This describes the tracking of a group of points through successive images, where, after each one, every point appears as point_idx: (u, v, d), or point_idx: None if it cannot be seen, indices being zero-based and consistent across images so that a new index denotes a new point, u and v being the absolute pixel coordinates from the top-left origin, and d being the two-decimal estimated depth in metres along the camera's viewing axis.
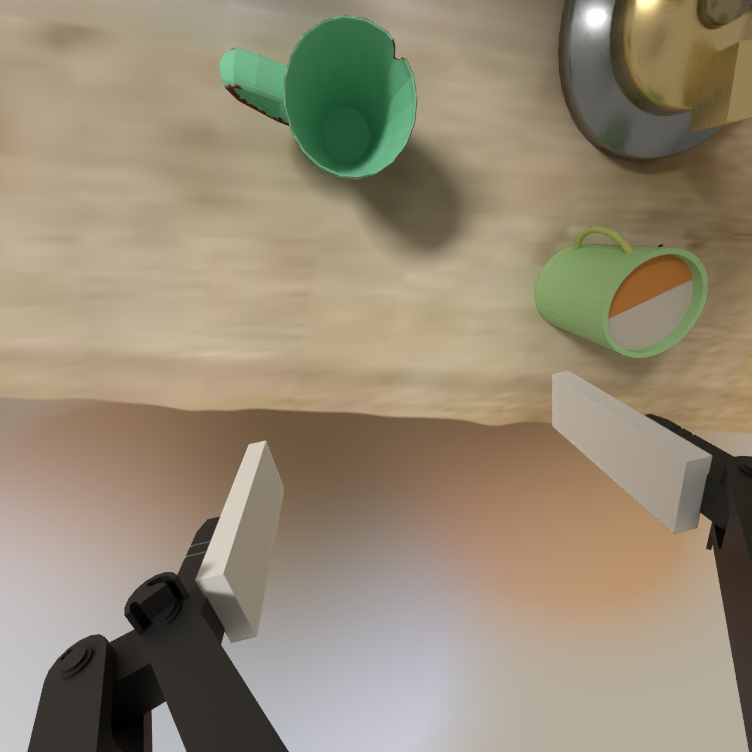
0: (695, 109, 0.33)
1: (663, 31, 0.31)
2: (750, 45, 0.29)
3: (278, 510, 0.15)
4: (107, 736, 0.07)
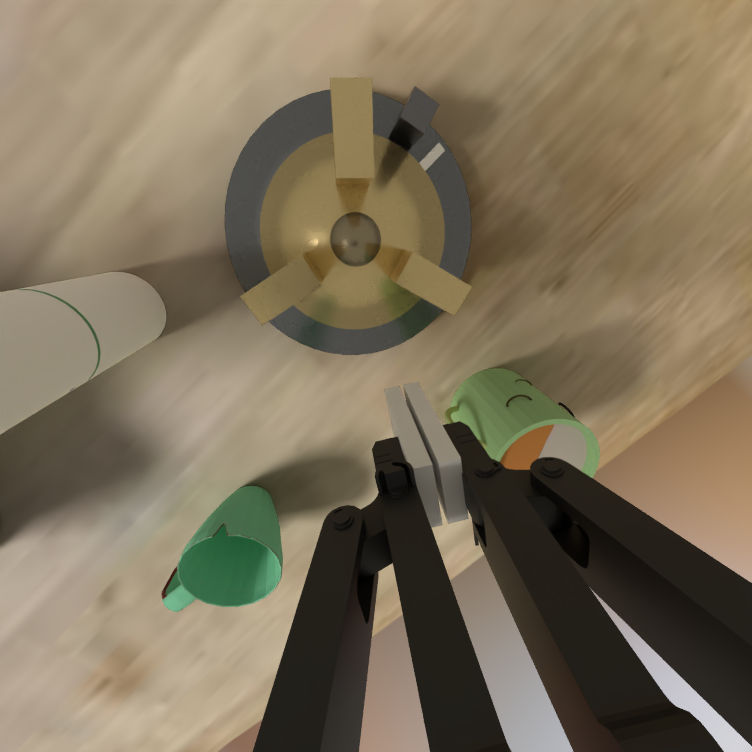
0: None
1: (343, 300, 0.31)
2: (407, 273, 0.27)
3: None
4: (354, 589, 0.09)
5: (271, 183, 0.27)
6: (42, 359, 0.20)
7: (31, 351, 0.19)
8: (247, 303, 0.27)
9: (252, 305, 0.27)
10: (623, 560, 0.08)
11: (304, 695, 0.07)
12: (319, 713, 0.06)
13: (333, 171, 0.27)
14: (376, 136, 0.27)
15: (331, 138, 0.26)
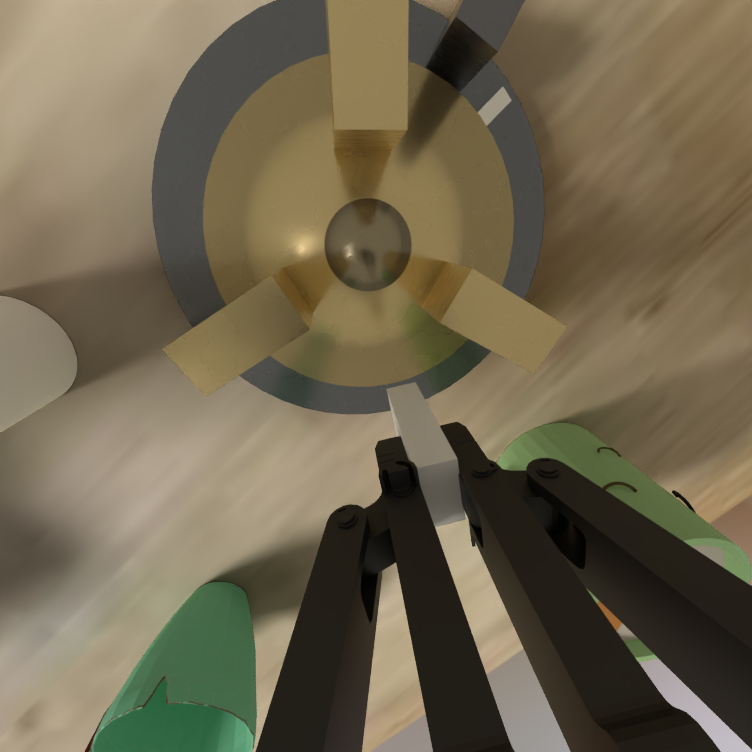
0: None
1: (345, 343, 0.19)
2: (459, 305, 0.15)
3: None
4: (358, 588, 0.09)
5: (220, 147, 0.15)
6: None
7: None
8: (176, 361, 0.15)
9: (185, 364, 0.15)
10: (620, 561, 0.08)
11: (308, 693, 0.07)
12: (322, 712, 0.06)
13: (329, 126, 0.15)
14: None
15: (326, 64, 0.15)
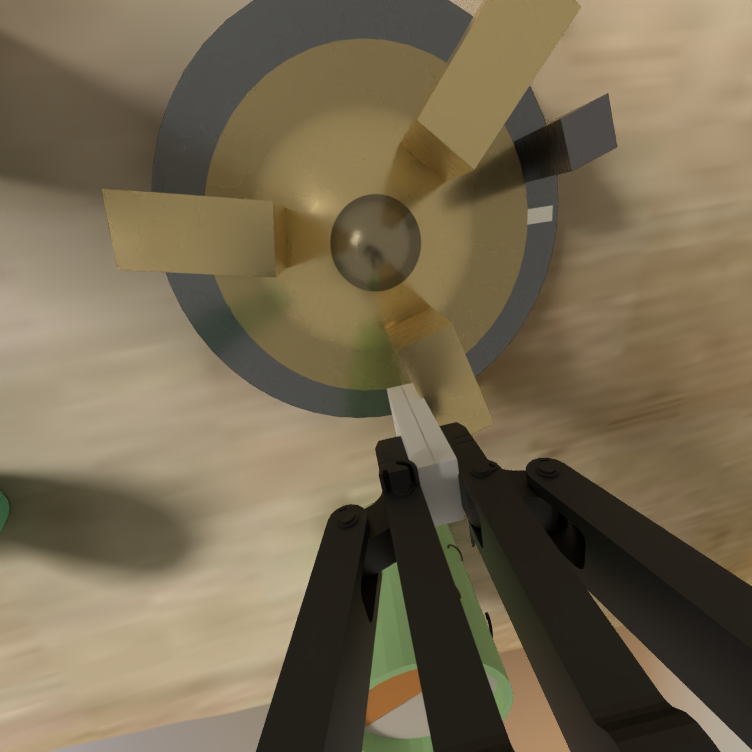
0: None
1: (298, 317, 0.18)
2: (422, 348, 0.15)
3: None
4: (358, 588, 0.09)
5: (300, 56, 0.14)
6: None
7: None
8: (110, 211, 0.12)
9: (118, 222, 0.12)
10: (619, 561, 0.08)
11: (308, 693, 0.07)
12: (323, 712, 0.06)
13: (409, 121, 0.15)
14: None
15: (439, 69, 0.14)
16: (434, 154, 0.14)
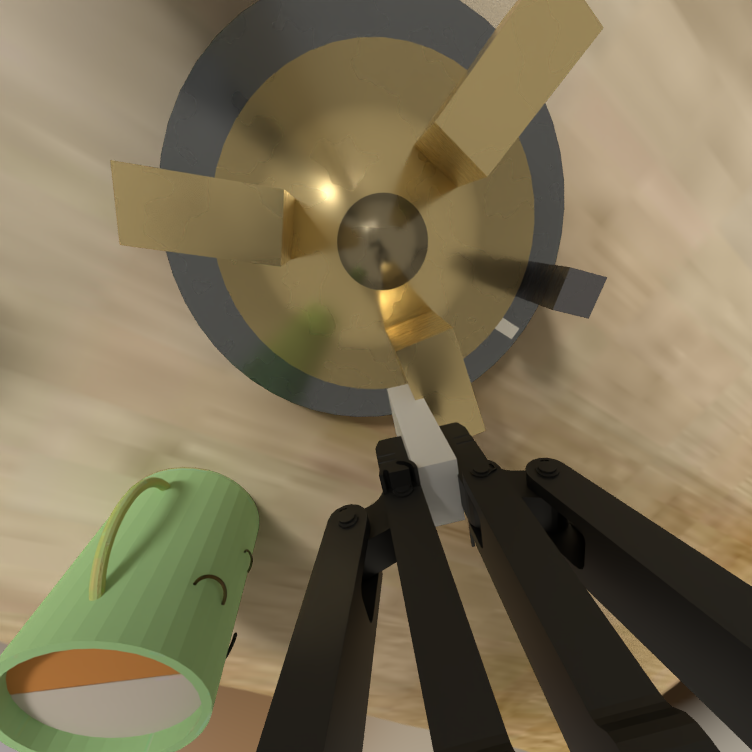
0: None
1: (298, 309, 0.17)
2: (421, 350, 0.15)
3: None
4: (359, 588, 0.09)
5: (322, 49, 0.14)
6: None
7: None
8: (117, 184, 0.12)
9: (125, 196, 0.12)
10: (619, 561, 0.08)
11: (309, 693, 0.07)
12: (323, 711, 0.06)
13: (425, 124, 0.15)
14: None
15: (459, 76, 0.15)
16: (448, 158, 0.14)
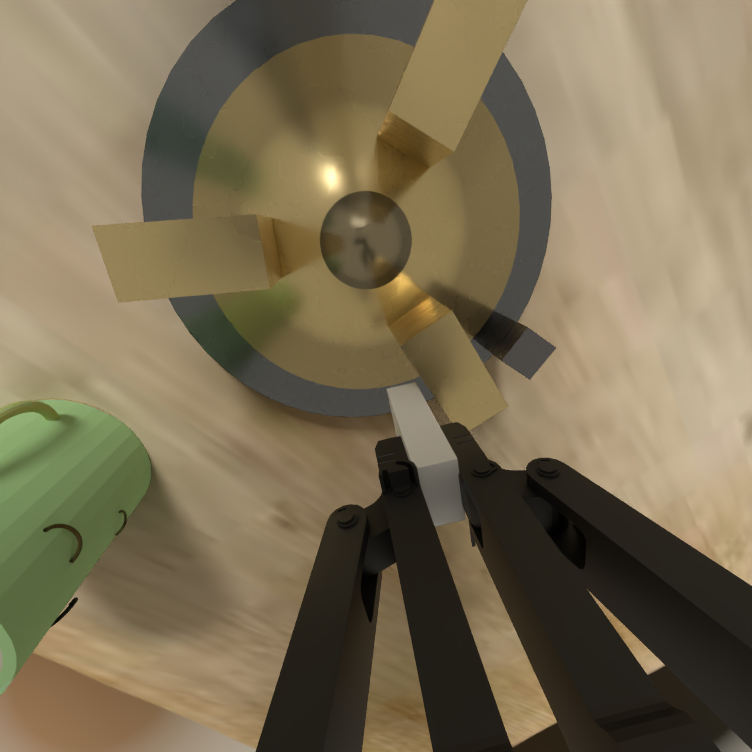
0: None
1: (299, 324, 0.18)
2: (425, 339, 0.15)
3: None
4: (358, 588, 0.09)
5: (266, 65, 0.14)
6: None
7: None
8: (102, 247, 0.12)
9: (112, 256, 0.13)
10: (619, 561, 0.08)
11: (308, 694, 0.07)
12: (322, 712, 0.06)
13: (383, 112, 0.15)
14: None
15: (407, 55, 0.14)
16: (412, 142, 0.14)
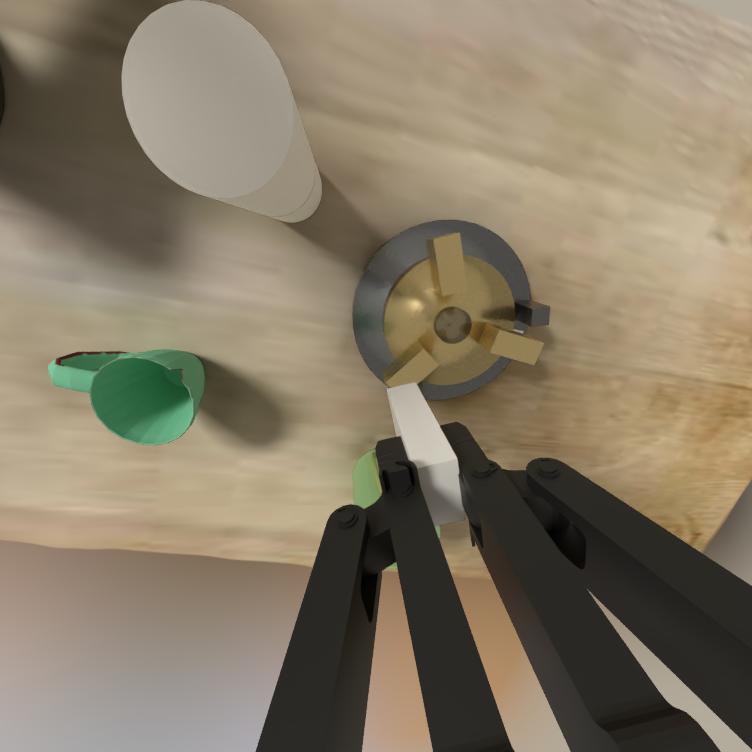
0: None
1: (446, 365, 0.42)
2: (496, 344, 0.38)
3: None
4: (358, 588, 0.09)
5: (390, 301, 0.39)
6: (295, 199, 0.25)
7: (300, 192, 0.25)
8: (390, 386, 0.39)
9: None
10: (619, 561, 0.08)
11: (308, 694, 0.07)
12: (322, 712, 0.06)
13: (431, 283, 0.39)
14: None
15: (428, 263, 0.38)
16: None
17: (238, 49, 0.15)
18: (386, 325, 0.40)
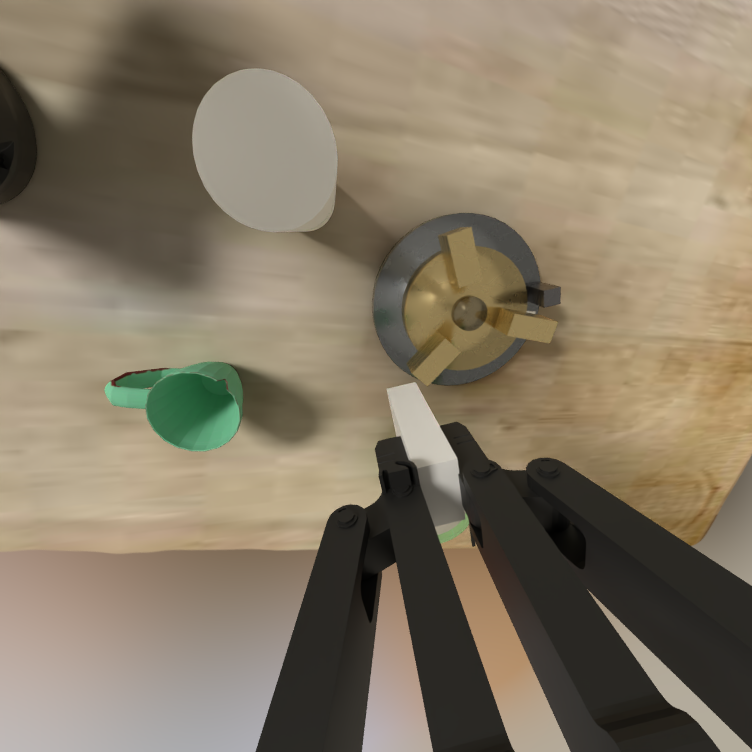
0: None
1: (466, 351, 0.45)
2: (513, 327, 0.41)
3: None
4: (358, 588, 0.09)
5: (409, 296, 0.41)
6: None
7: (329, 209, 0.27)
8: (417, 376, 0.41)
9: (420, 376, 0.41)
10: (619, 561, 0.08)
11: (308, 693, 0.07)
12: (322, 712, 0.06)
13: (446, 276, 0.41)
14: None
15: (442, 258, 0.40)
16: None
17: (288, 105, 0.17)
18: (407, 319, 0.42)
